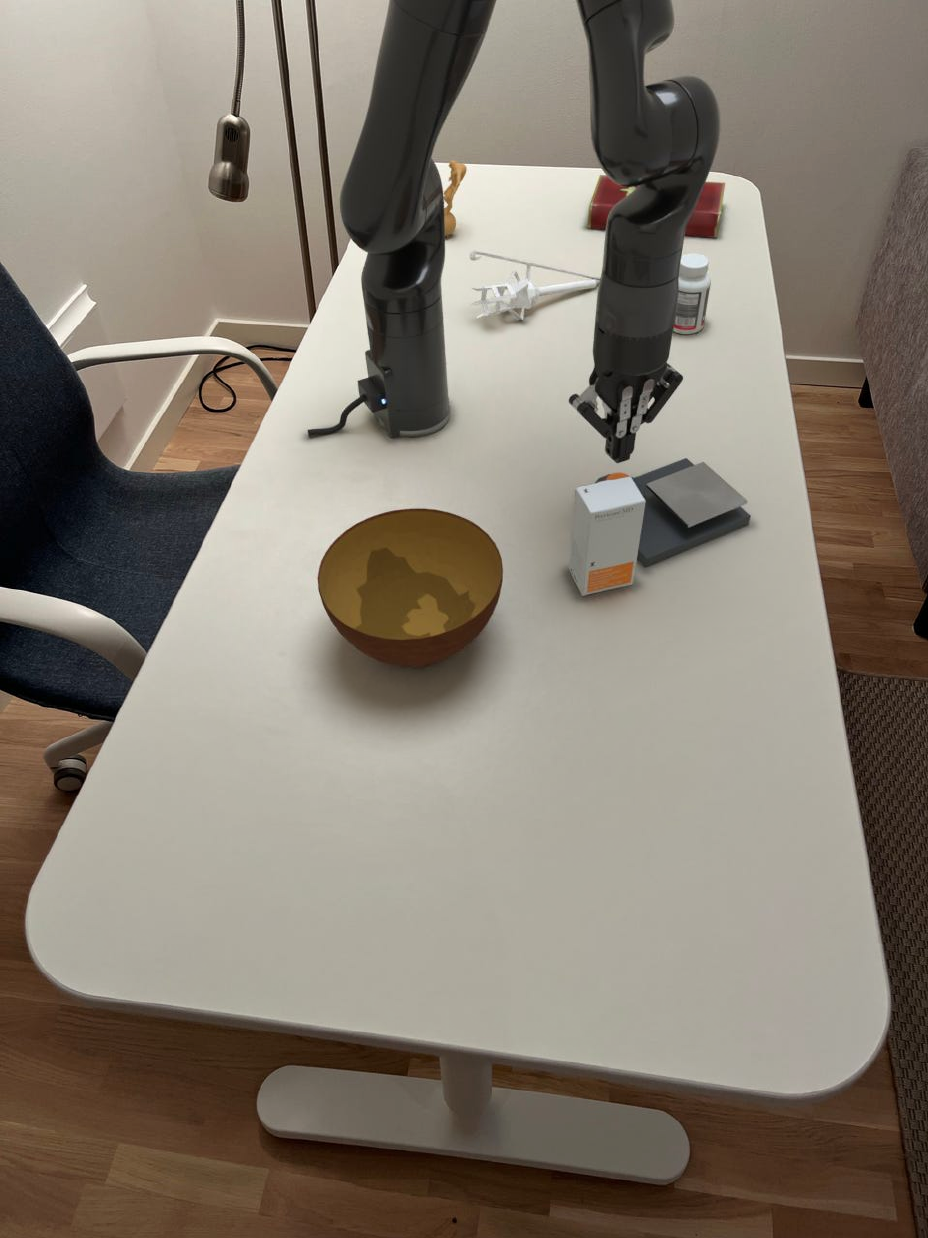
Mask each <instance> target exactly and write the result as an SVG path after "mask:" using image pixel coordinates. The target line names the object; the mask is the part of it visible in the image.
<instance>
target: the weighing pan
mask: <svg viewBox="0 0 928 1238" xmlns="http://www.w3.org/2000/svg"><path fill="white" fill-rule="evenodd" d="M646 487H647V488H648V489H649V490H650V491H651V492H652V493H653V494H654V495H655V496H656V497H657V498H658V499H659V500H660V501H661V502H662V503H663V504H664V505H665V506H666V507H667V508H668V509H669V510H670V511H671V512H672V513H673V514H675V515H676V516H677V517H678V518H679V519H680V520H681V521H682V522H683V523H684V524H685V525H686V526H687V527H688V528H689V527H691V526H694V525H696V524H698V523H701V522H703V521H706V520H708V519H711V518H713V517H716V516H718V515H720V514H723V513H725V512H728V511H730V510H733V509H735V508H737V507H740V506H741V507H742V506H744V505H747V504H748V503H749V502H748V500H747V499H746V498H745V497H744V496H743V495H742V494H741V493H740V492H738V491H737V490H736V489H735V488H734V487H732V486H731V485H730V484H729V482H727V481H726V480H725V479H724V478H723V477H722V476H720V475H719V474H718V473H717V472H716V471H715V470H714V469H712V467H710V466H709V465H708V464H707V463H706V462H704V461H702V462H698V463H696V464H694V466H691V467H689V468H686V469H683V470H681V471H678V472H676V473H673V474H671V475H668V476H665V477H663V478H660V479H658V480H655V481H653V482H650V483H647V484H646Z"/></svg>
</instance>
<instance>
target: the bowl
mask: <svg viewBox="0 0 928 1238" xmlns="http://www.w3.org/2000/svg"><path fill="white" fill-rule="evenodd" d="M319 563H320V564H319V568H318V572H317V588H318V594H319V596H320V600H321V604H322V607H323V608H324V611H325V612H326V615H327V616H328V618H329V620H330V622H331V623H332V624H333V626H334V627H335V629H336V630H337V631H338V633H339V634H340V635H341V636H342V637H343V638H344V639H345V640H346V641H347V642H348V643H349V644H350V645H352V646H353V647H355V648H356V649H357V650H358V651H360V652H361V653H363V654H364V655H366V656H368V657H370V658H372V659H373V660H376V661H378V662H381V663H383V664H387V665H391V666H395V667H402V668H415V667H416V668H417V667H426V666H430V665H431V666H432V665H435V664H438V663H441V662H443V661H446V660H449V659H450V658H452V657H454V656H455V655H457V654H459V653H460V652H462V651H463V650H464V649H466V648H467V647H468V646H470V644H472V642H474V641H475V640H476V639H477V638H478V636H479V635H480V634H481V633H482V631H484V629H485V628H486V626H487V625H488V623H489V621H490V620H491V619H492V617H493V615H494V613H495V610H496V607H497V605H498V603H499V600H500V596H501V593H502V592H501V591H502V586H503V579H504V577H503V576H504V566H503V558H502V556H501V553H500V550H499V548H498V547H497V544H496V543H495V541H494V540H493V538H492V537H491V536H490V534H488V532H486V531H485V530H484V529H483V528H482V527H480V526H479V525H478V524H477V523H476V522H475V523H474V521H472V520H469V519H467V518H465V517H463V516H461V515H459V514H455V513H453V512H449V511H444V510H441V509H434V508H426V507H425V508H424V507H423V508H421V507H418V508H416V507H415V508H403V509H401V508H400V509H394V510H389V511H385V512H382V513H378V514H375V515H372V516H369V517H367V518H365V519H363V520H361V521H358V522H357V523H355V524H354V525H351V526H350V527H349V528H348V529H346V530H345V531H344V532H343V533H341V534H340V535H339V536H338V537H337V538H335V540H334V541H333V542H332V543H331V544H330V545H329V547H328V548H327V550H326V551H325V553H324V555H323V556H322V558H321V560H320V562H319Z"/></svg>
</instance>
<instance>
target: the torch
mask: <svg viewBox="0 0 928 1238" xmlns="http://www.w3.org/2000/svg"><path fill="white" fill-rule="evenodd" d="M476 255H477V257H476ZM478 255H479V256H478ZM482 256H484V257H488V258H492V259H498V260H503V261H507V262H512V263H517V264H522V265H526V272H525V278H523V279H520V276H519V273H518V271H517V270H514V271H511V273H510V275H509V276H508V278H507V279H506V281H505V282H504V284H494V285H487V286H483V285H480V287H479V288H478V287H471V289H473V290H474V291H476V292H481V297H480V300H476V301H473V302H471V303H468V305H469V306H480V305H481V306H482V308H483V311H484V313H480V314H479V315H478V316H477V317H476V319H480V318H482V317H484V318H485V317H488V316H493V315H498V314H501V313H504V312H508V313H511V315H512V316H513V317H514V318H515V319H517V320H518V321H522V320H524V315H525V309H532V307H533V306H534V305H535V303H536V302H537V300H538V299H539V297H545V296H551V295H557V294H558V295H559V294H563V293H564V294H565V293H570V292H577V291H582V290H583V291H584V290H588V289H595V288H596V287H597V285H598V281H600V278H601V276H596V275H592V274H588V273H582V272H578V271H573V270H568V269H564V268H559V267H554V266H549V265H546V264H540V263H537V262H531V261H526V260H521V259H516V258H512V257H508V256H503V255H499V254H493V253H490V252H485V251H480V250H477V249H476V250H473V251H470V252H469V260H470V261H472V262H475V261H478V260H481V259H482V258H483V257H482ZM532 267H535V268H539V269H544V270H549V271H555V272H559V273H564V274H568V275H573V276H577V277H582V278H587V279H585V280H578V281H572V282H565V283H559V284H558V283H557V284H553V285H547V286H546V285H545V286H539V287H538V286H537V285H535V283H533V282H532V281H531V271H532ZM514 277H515V280H517V282H515V283H513V284H510V283H511V282H512V279H513V278H514ZM488 290H491V291H492V293H493V295H494V297H490V298H487V294H488V293H487V292H488ZM505 291H508V293H509V294H506V295H504V293H505ZM506 300H510V303H509V306H508V305H507V304H506V303H505V301H506ZM493 303H495V307H494V311H491V310H490V308H489V306H488V304H493ZM516 308H517V309H521V311H520V315H519V314H518V313H517V312H516V311H515V310H514V309H516Z"/></svg>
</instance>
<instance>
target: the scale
mask: <svg viewBox="0 0 928 1238" xmlns="http://www.w3.org/2000/svg"><path fill="white" fill-rule="evenodd" d="M694 465H695V464H694V463H693V462H692V461H690V459H688V458H687V457H685V458H682V459H679V460H677V461H675V462H672V463H669V464H667V465H664V466H660V467H659V468H656V469H654V470H651V471H649V472H646V473H643V474H641V475H638V476H635V477H634V476H631V475H629V476H630V477H631V478H632V479H633V481H634V483H635V484H636V486H637V488H638V489H639V491H640V493H641V494H642V496H643V498H644V499H645V501H646V503H645V509H644V516H643V522H642V529H641V535H640V542H639V548H638V555H637V561H639V562H640V563H641V564H642V566H643V567H644V568H649V567H651V566H653V565H656V564H659V563H661V562H662V561H665V560H667V559H669V558H672V557H674V556H677V555H679V554H682V553H684V552H686V551H689V550H691V549H694V548H696V547H698V546H701V545H703V544H705V543H707V542H710V541H712V540H715V539H718V538H720V537H722V536H725V535H728V534H729V533H731V532H734V531H737V530H739V529H741V528H743V527H746V526H748V525H749V524H750V520H751V516H752V515H751V514H750V513H749V512H748V511H746V510H745V509H744V508H743V507H742V506H740V507H737V508H735V509H733V510H730V511H728V512H725V513H723V514H720V515H718V516H716V517H713V518H711V519H708V520H706V521H703V522H701V523H698V524H696V525H694V526H691V527H689V528H688V527H687V526H686V525H685V524H684V523H683V522H682V521H681V520H680V519H679V518H678V517H677V516H676V515H675V514H673V513H672V512H671V511H670V510H669V509H668V508H667V507H666V506H665V505H664V504H663V503H662V502H661V501H660V500H659V499H658V498H657V497H656V496H655V495H654V494H653V493H652V492H651V491H650V490H649V489H648V488H647V487H646V484H647V483H650V482H653V481H655V480H658V479H660V478H663V477H665V476H668V475H671V474H673V473H676V472H678V471H681V470H683V469H686V468H689V467H691V466H694ZM610 474H611V473H608V474H605V475H604V476H601V477H598V478H597V479H596V481H594V483H593V484H595V483H598V482H601V481H606V479H607V477H608V476H609V475H610Z"/></svg>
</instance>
